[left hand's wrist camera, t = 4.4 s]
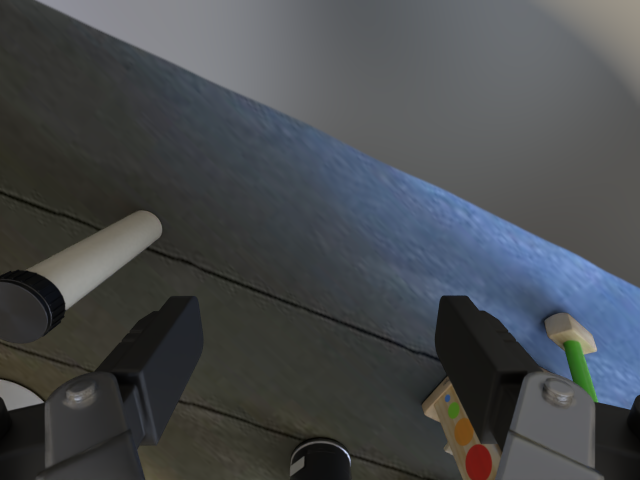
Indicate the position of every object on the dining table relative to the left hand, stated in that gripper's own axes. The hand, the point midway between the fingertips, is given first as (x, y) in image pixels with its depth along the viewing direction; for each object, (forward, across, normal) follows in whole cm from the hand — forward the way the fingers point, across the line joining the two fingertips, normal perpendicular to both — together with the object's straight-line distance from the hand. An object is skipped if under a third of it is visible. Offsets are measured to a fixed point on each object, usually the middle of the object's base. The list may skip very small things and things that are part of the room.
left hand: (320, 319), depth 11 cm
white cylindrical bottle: (+29, -21, -6) cm, 37 cm away
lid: (+11, -21, -6) cm, 24 cm away
